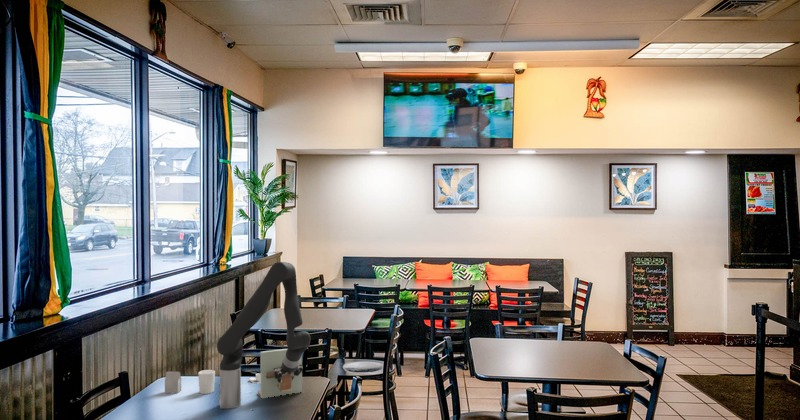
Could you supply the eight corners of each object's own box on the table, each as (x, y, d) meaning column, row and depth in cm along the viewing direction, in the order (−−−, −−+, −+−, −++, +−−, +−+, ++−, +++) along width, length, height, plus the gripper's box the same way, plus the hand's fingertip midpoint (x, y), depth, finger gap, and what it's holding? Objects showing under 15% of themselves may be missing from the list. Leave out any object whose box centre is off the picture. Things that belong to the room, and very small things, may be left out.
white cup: (217, 389, 283) (217, 369, 283) (210, 394, 275) (210, 374, 275) (202, 389, 284) (202, 369, 284) (195, 394, 276) (195, 373, 276)
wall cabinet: (292, 391, 266) (292, 370, 266) (282, 393, 264) (281, 371, 264) (287, 386, 274) (287, 365, 274) (277, 387, 272) (277, 367, 272)
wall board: (303, 393, 275) (303, 349, 276) (262, 400, 266) (262, 353, 267) (297, 388, 285) (297, 344, 285) (257, 393, 276) (257, 349, 276)
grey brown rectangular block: (178, 393, 278) (178, 373, 278) (164, 393, 278) (164, 372, 278) (181, 390, 282) (181, 370, 282) (168, 390, 282) (168, 370, 282)
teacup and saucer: (246, 382, 296) (246, 374, 296) (257, 378, 303) (257, 371, 303) (259, 384, 292) (259, 376, 292) (269, 380, 299) (269, 373, 299)
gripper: (304, 351, 264) (297, 371, 275) (274, 355, 258) (268, 375, 268) (308, 365, 259) (300, 384, 270) (277, 369, 253) (271, 389, 263)
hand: (284, 379), depth 269 cm, fingers closed on wall cabinet, 5 cm apart
